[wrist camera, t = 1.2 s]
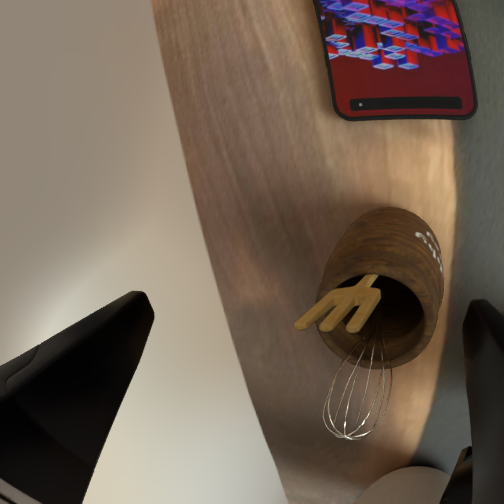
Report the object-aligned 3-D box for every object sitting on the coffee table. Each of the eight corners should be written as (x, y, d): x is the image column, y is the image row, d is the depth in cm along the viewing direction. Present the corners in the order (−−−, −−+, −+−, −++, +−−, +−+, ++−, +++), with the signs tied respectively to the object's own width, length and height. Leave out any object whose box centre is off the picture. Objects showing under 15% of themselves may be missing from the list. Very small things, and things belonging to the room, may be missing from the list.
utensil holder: (349, 300, 19) (265, 456, 10) (335, 203, 18) (213, 318, 8) (440, 298, 16) (425, 481, 7) (436, 193, 14) (462, 327, 5)
